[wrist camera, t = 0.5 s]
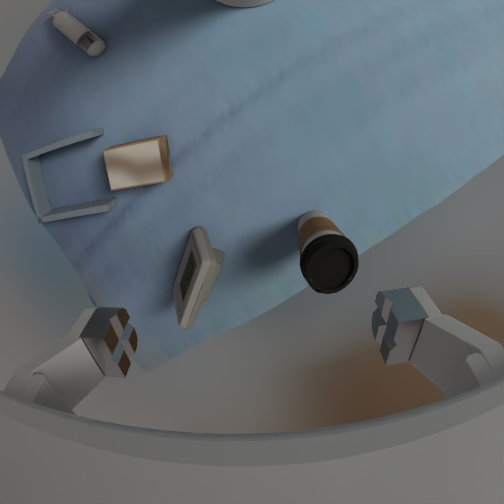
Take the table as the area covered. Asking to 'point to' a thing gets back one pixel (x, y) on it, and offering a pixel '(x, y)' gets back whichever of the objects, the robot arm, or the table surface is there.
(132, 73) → the table surface
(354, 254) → the coffee cup
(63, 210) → the bay
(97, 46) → the torpedo
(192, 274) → the digital clock
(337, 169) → the table surface
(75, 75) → the table surface
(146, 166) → the tan block
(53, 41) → the table surface
